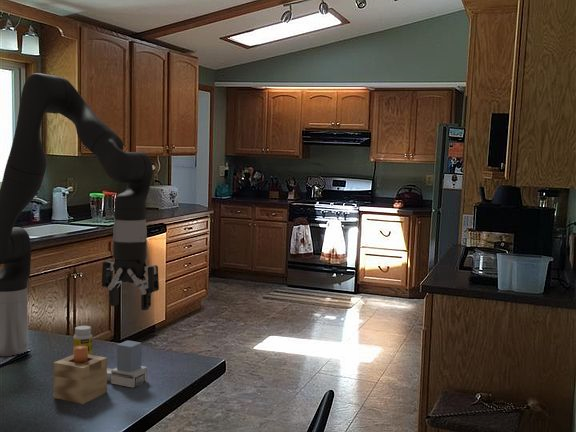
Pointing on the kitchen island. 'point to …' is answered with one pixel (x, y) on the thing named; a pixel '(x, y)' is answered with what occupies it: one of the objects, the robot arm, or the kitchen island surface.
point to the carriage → (128, 364)
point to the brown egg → (80, 354)
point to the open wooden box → (80, 379)
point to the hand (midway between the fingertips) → (129, 307)
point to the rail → (138, 380)
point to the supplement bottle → (83, 338)
